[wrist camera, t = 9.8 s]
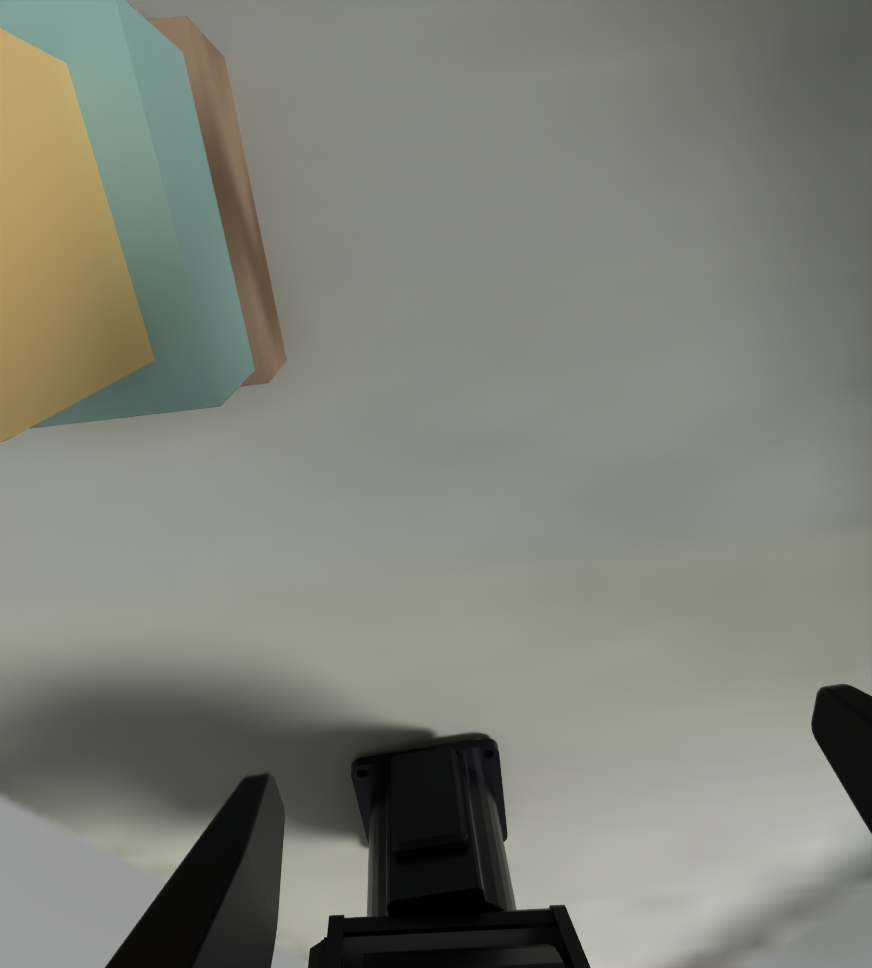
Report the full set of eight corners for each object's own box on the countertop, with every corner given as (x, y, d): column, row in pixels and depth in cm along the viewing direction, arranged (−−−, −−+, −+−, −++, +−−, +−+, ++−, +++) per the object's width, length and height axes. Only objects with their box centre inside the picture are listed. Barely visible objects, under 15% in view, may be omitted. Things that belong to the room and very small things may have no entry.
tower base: (288, 357, 19) (268, 382, 16) (39, 386, 18) (-33, 418, 15) (227, 60, 15) (186, 16, 12) (-76, 91, 15) (-198, 53, 12)
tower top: (255, 370, 15) (220, 406, 12) (-12, 400, 15) (-119, 445, 12) (182, 52, 13) (112, -10, 9) (-147, 83, 12) (-335, 31, 9)
